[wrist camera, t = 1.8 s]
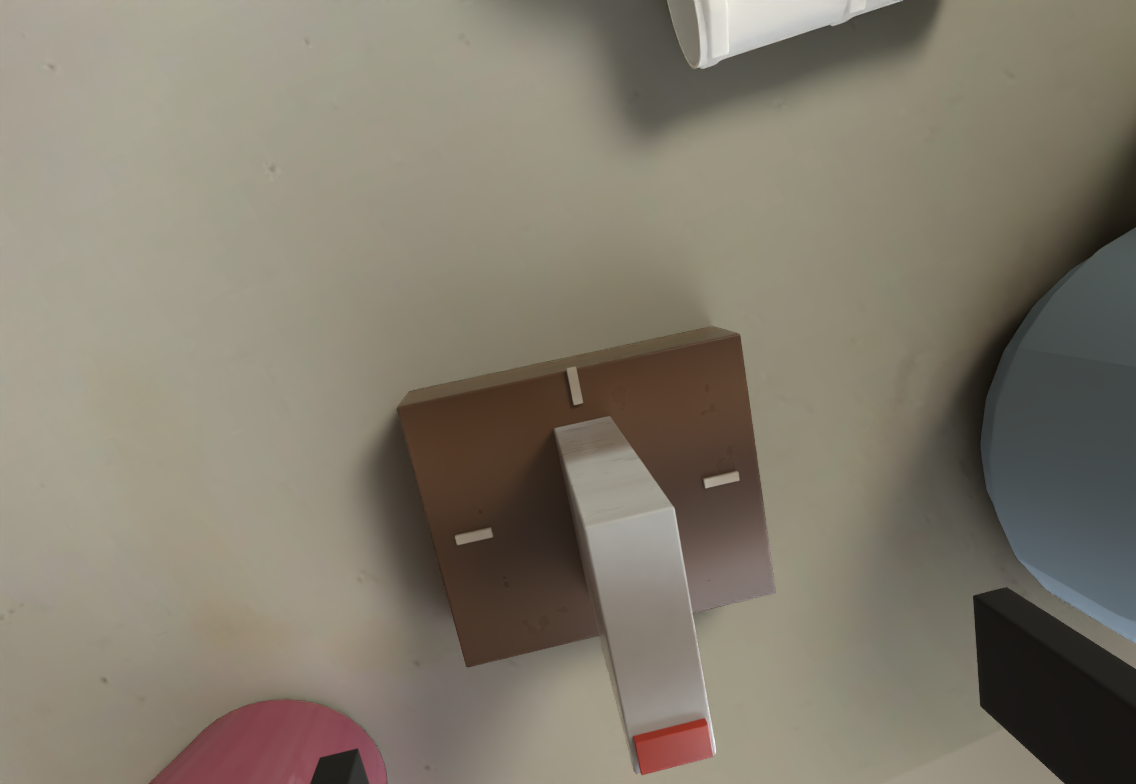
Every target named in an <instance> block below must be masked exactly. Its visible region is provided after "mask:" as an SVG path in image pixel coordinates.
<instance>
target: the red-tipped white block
mask: <svg viewBox="0 0 1136 784" xmlns="http://www.w3.org/2000/svg"><path fill="white" fill-rule="evenodd" d="M554 435H555V439H556V444H557V449H558V453H559V458H560V463H561V468H562V472H563V477H564V482H565V486H566V491H567V496H568V501H569V505H570V510H571V515H572V519H573V524H574V529H575V534H576V538H577V543H578V548H579V552H580V557H581V562H582V566H583V571H584V576H585V581H586V585H587V590H588V595H589V598H590V602H591V606H592V610H593V614H594V618H595V622H596V626H597V630H598V633H599V637H600V641H601V645H602V649H603V653H604V657H605V661H606V665H607V668H608V672H609V676H610V680H611V684H612V688H613V692H614V696H615V699H616V703H617V707H618V711H619V715H620V719H621V723H622V727H623V731H624V734H625V738H626V742H627V746H628V750H629V754H630V758H631V762H632V766H633V769H634V772H635V773H636V774H639V773H641V775H644V774H648V773H652V772H656V771H660V770H664V769H668V768H672V767H676V766H680V765H684V764H687V763H691V762H695V761H699V760H703V759H707V758H711V757H713V756H714V754H715V753H716V746H715V740H714V734H713V728H712V723H711V717H710V711H709V705H708V699H707V694H706V688H705V682H704V676H703V670H702V665H701V659H700V653H699V647H698V641H697V636H696V630H695V624H694V618H693V612H692V607H691V601H690V595H689V589H688V583H687V578H686V572H685V566H684V560H683V554H682V549H681V543H680V537H679V531H678V525H677V520H676V514H675V508H674V507H673V505H672V504H671V503H670V501H669V500H668V498H667V497H666V495H665V494H664V493H663V491H662V490H661V488H660V487H659V485H658V484H657V483H656V481H655V480H654V478H653V477H652V475H651V474H650V473H649V471H648V470H647V468H646V467H645V465H644V464H643V463H642V461H641V460H640V458H639V457H638V455H637V454H636V453H635V451H634V450H633V448H632V447H631V445H630V444H629V443H628V441H627V440H626V438H625V437H624V435H623V434H622V433H621V431H620V430H619V428H618V427H617V425H616V424H615V423H614V421H613V420H612V418H611V417H610V416H607V417H603V418H598V419H594V420H589V421H585V422H580V423H575V424H571V425H566V426H562V427H557V428H555V429H554Z"/></svg>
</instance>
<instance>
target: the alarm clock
mask: <svg viewBox="0 0 1136 784" xmlns="http://www.w3.org/2000/svg"><path fill="white" fill-rule="evenodd" d="M980 447H981V454H982V462H983V469H984V476H985V483H986V490H987V492H988V494H989V496H990V499H991V501H992V503H993V505H994V507H995V510H996V514H997V516H998V519H999V521H1000V523H1001V525H1002V527H1003V530H1004V532H1005V534H1006V536H1007V538H1008V541H1009V543H1010V545H1011V547H1012V549H1013V552H1014V554H1015V556H1016V558H1017V559H1018V560H1019V561H1020V562H1021V563H1022V564H1023V565H1024V566H1025V567H1026V568H1027V570H1028V571H1029V572H1030V573H1031V574H1032V575H1033V576H1034V577H1035V578H1036V579H1037V580H1038V581H1039V583H1040V584H1041V585H1042V586H1043V587H1044V588H1045V589H1046V590H1047V591H1049V592H1050V593H1052V594H1054V595H1055V596H1057V597H1059V598H1060V599H1062V600H1064V601H1065V602H1067V603H1069V604H1070V605H1072V606H1074V607H1075V608H1077V609H1079V610H1080V611H1082V612H1084V613H1085V614H1087V615H1089V616H1090V617H1092V618H1094V619H1095V620H1097V621H1099V622H1100V623H1102V624H1104V625H1105V626H1107V627H1109V628H1110V629H1112V630H1113V631H1115V632H1117V633H1118V634H1120V635H1122V636H1123V637H1125V638H1127V639H1128V640H1130V641H1132V642H1133V643H1135V644H1136V227H1135V228H1134V229H1132V230H1130V231H1129V232H1127V233H1126V234H1124V235H1122V236H1121V237H1119V238H1117V239H1116V240H1114V241H1112V242H1111V243H1109V244H1107V245H1106V246H1104V247H1102V248H1101V249H1099V250H1098V251H1097V252H1096V253H1095V254H1094V255H1093V256H1092V257H1090V258H1089V259H1087V260H1086V261H1084V262H1082V263H1081V264H1079V265H1077V266H1076V267H1074V268H1072V269H1071V270H1070V271H1069V272H1068V273H1067V274H1066V275H1065V276H1064V277H1063V278H1062V279H1060V280H1059V281H1058V282H1057V283H1056V284H1055V285H1054V286H1053V287H1052V288H1051V289H1050V290H1049V291H1048V292H1047V293H1046V294H1045V295H1044V296H1043V297H1042V298H1041V299H1040V300H1039V301H1038V302H1037V303H1036V304H1035V305H1034V306H1033V307H1032V308H1031V310H1030V312H1029V313H1028V315H1027V316H1026V318H1025V319H1024V321H1023V322H1022V324H1021V325H1020V327H1019V328H1018V330H1017V331H1016V333H1015V334H1014V336H1013V337H1012V339H1011V341H1010V342H1009V344H1008V345H1007V347H1006V348H1005V350H1004V352H1003V354H1002V357H1001V360H1000V362H999V365H998V368H997V370H996V373H995V376H994V378H993V381H992V384H991V386H990V389H989V392H988V394H987V397H986V403H985V411H984V419H983V428H982V436H981V444H980Z"/></svg>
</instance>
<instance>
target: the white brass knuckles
mask: <svg viewBox="0 0 1136 784" xmlns="http://www.w3.org/2000/svg"><path fill="white" fill-rule="evenodd" d="M900 1H903V0H667V3H668V7H669V11H670V15H671V19H672V23H673V26H674V29H675V33H676V36H677V38H678V41H679V44H680V46H681V49H682V51H683V53H684V55H685V58H686V60H687V61H688V63H689V65H690V66H691V67H692V68H694V69H695V68H698V67H700V68H701V69H704V68H707V67H710V66H713V65H716V64H717V63H718V62H719V61H720V60H723V59H726V58H729V57H732V56H735V55H738V54H741V53H744V52H747V51H750V50H754V49H757V48H760V47H763V46H766V45H769V44H772V43H775V42H778V41H781V40H784V39H787V38H790V37H793V36H796V35H799V34H802V33H805V32H809V31H812V30H815V29H818V28H821V27H824V26H827V25H831V26H835V25H838V24H841V23H844V22H846V21H848V20H849V19H851V18H852V17H854V16H857V15H860V14H863V13H867V12H870V11H873V10H876V9H879V8H882V7H885V6H888V5H891V4H894V3H897V2H900Z"/></svg>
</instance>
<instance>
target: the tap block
mask: <svg viewBox="0 0 1136 784" xmlns="http://www.w3.org/2000/svg"><path fill="white" fill-rule="evenodd" d="M397 411H398V415H399V418H400V422H401V426H402V430H403V433H404V437H405V441H406V444H407V448H408V452H409V456H410V459H411V463H412V467H413V471H414V474H415V478H416V482H417V485H418V489H419V493H420V497H421V500H422V504H423V508H424V512H425V515H426V519H427V523H428V526H429V530H430V534H431V538H432V541H433V545H434V549H435V553H436V556H437V560H438V564H439V567H440V571H441V575H442V579H443V582H444V586H445V590H446V594H447V597H448V601H449V605H450V608H451V612H452V616H453V620H454V623H455V627H456V631H457V635H458V638H459V642H460V646H461V649H462V653H463V657H464V661H465V664H466V667H472V666H476V665H480V664H484V663H488V662H492V661H496V660H501V659H505V658H509V657H513V656H517V655H521V654H525V653H530V652H534V651H538V650H542V649H546V648H550V647H554V646H559V645H563V644H567V643H571V642H575V641H579V640H583V639H588V638H592V637H596V636H599V633H598V630H597V626H596V622H595V618H594V614H593V610H592V606H591V602H590V598H589V595H588V590H587V585H586V581H585V576H584V571H583V566H582V562H581V557H580V552H579V548H578V543H577V538H576V534H575V529H574V524H573V519H572V515H571V510H570V505H569V501H568V496H567V491H566V486H565V482H564V477H563V472H562V468H561V463H560V458H559V453H558V449H557V444H556V439H555V435H554V429H555V428H557V427H562V426H566V425H571V424H575V423H580V422H585V421H589V420H594V419H598V418H603V417H607V416H610V417H611V418H612V420H613V421H614V423H615V424H616V425H617V427H618V428H619V430H620V431H621V433H622V434H623V435H624V437H625V438H626V440H627V441H628V443H629V444H630V445H631V447H632V448H633V450H634V451H635V453H636V454H637V455H638V457H639V458H640V460H641V461H642V463H643V464H644V465H645V467H646V468H647V470H648V471H649V473H650V474H651V475H652V477H653V478H654V480H655V481H656V483H657V484H658V485H659V487H660V488H661V490H662V491H663V493H664V494H665V495H666V497H667V498H668V500H669V501H670V503H671V504H672V505H673V507H674V508H675V514H676V520H677V525H678V531H679V537H680V543H681V549H682V554H683V560H684V566H685V572H686V578H687V583H688V589H689V595H690V601H691V607H692V612H693V613H695V612H699V611H704V610H708V609H712V608H716V607H720V606H724V605H728V604H733V603H737V602H741V601H745V600H749V599H753V598H757V597H762V596H766V595H770V594H774V593H775V592H776V591H775V584H774V576H773V569H772V562H771V555H770V547H769V540H768V533H767V526H766V518H765V511H764V504H763V497H762V489H761V482H760V475H759V468H758V460H757V453H756V446H755V439H754V431H753V424H752V417H751V410H750V402H749V395H748V388H747V381H746V373H745V366H744V359H743V352H742V344H741V337H740V334H738V333H735V332H732V331H728V330H725V329H721V328H718V327H715V326H711V327H707V328H702V329H697V330H693V331H688V332H683V333H679V334H674V335H669V336H665V337H660V338H655V339H651V340H646V341H641V342H637V343H632V344H627V345H623V346H618V347H613V348H609V349H604V350H599V351H595V352H590V353H585V354H580V355H576V356H571V357H566V358H562V359H557V360H552V361H548V362H543V363H538V364H534V365H529V366H524V367H520V368H515V369H510V370H506V371H501V372H496V373H492V374H487V375H482V376H478V377H473V378H468V379H464V380H459V381H454V382H450V383H445V384H440V385H436V386H431V387H426V388H422V389H417V390H412V391H409V392H408V394H407V395H406V396H405V398H404V399H403V400H402V402H401V403H400V405H399V406H398V407H397Z"/></svg>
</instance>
